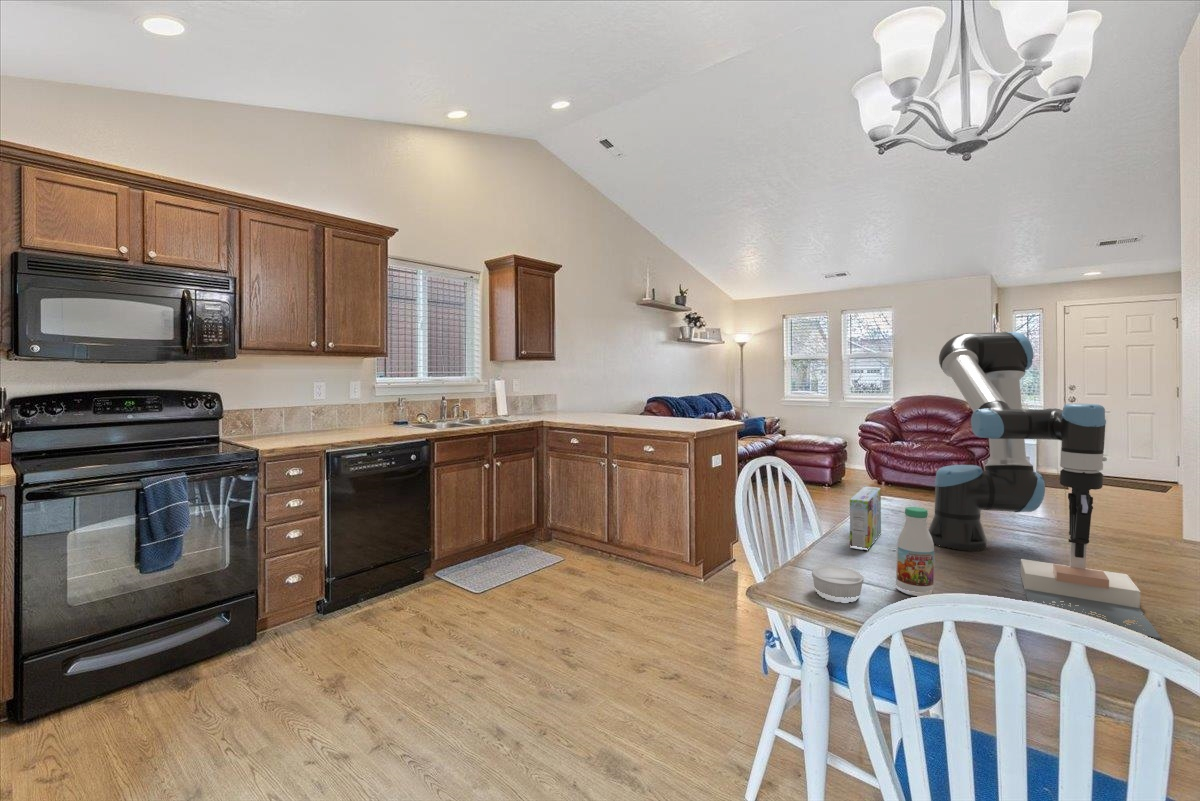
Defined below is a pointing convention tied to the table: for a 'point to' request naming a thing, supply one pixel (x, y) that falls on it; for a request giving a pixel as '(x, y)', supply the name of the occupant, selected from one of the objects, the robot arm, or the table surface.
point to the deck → (1044, 580)
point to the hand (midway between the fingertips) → (1077, 569)
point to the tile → (1080, 576)
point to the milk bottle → (915, 553)
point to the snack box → (865, 517)
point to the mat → (1098, 610)
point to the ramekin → (837, 581)
